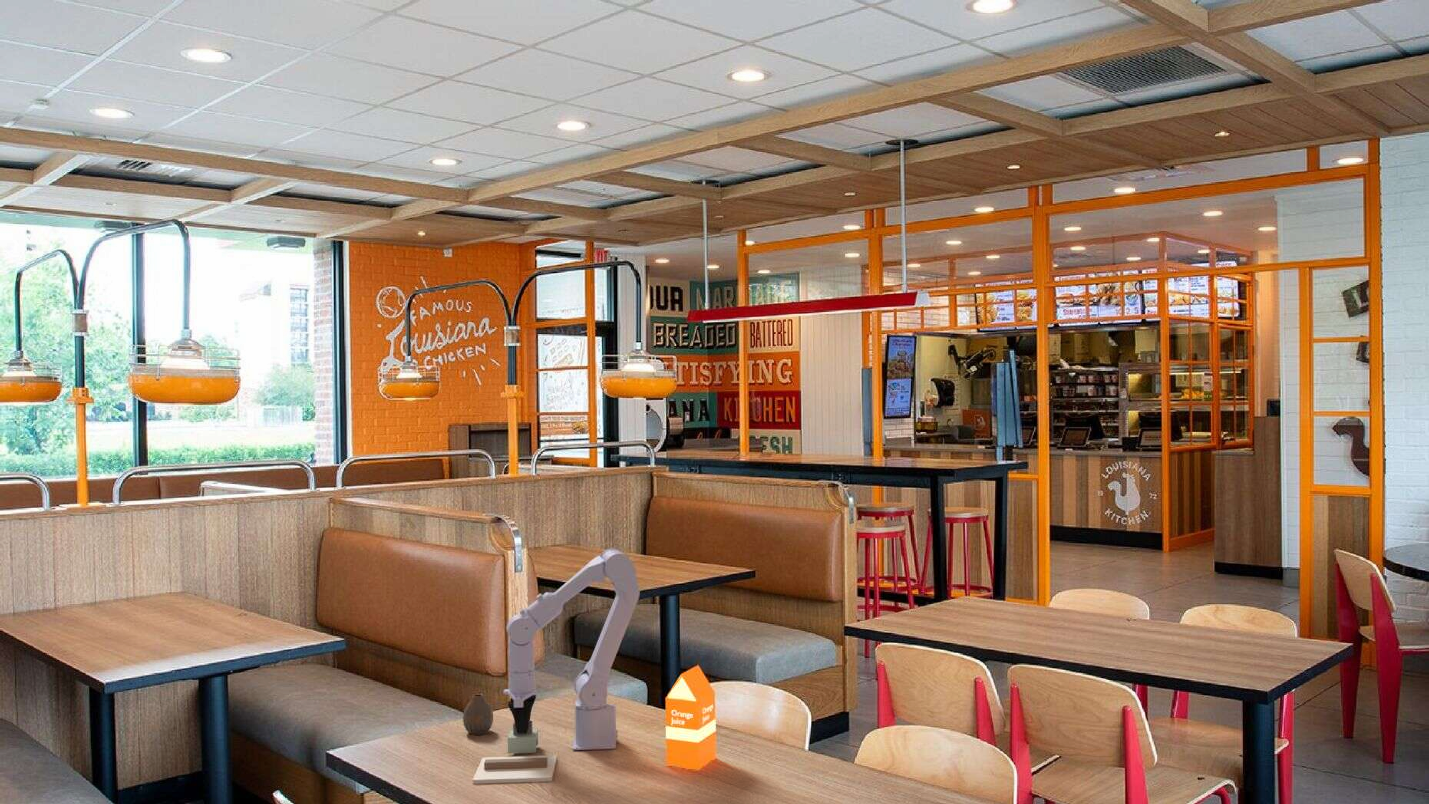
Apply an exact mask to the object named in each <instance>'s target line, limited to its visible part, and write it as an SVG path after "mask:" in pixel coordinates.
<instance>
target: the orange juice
mask: <svg viewBox="0 0 1429 804" xmlns="http://www.w3.org/2000/svg"><path fill="white" fill-rule="evenodd" d="M716 722H717V721H716V692H715V690H714V689H713V687H712V686H711V684H710V682H709V680H708V679H707V677H706V675H705V674H704V672H703V671H702V669H701V667H700V666H699V664H697V665H696V666H694V667H691V668H690V669H688V670H687V671H684V672H683V673H681V674H680V675H679V677H678V678H677V680H676V682H675V683H674V685H673V686H672V688H671V690H670V691H669V692H668V693H667V696H666V697H665V739H666V740H665V741H666V743H665V745H666V746H665V747H666V749H665V750H666V752H665V753H666V754H665V755H666V766H667V765H669V766H678V767H682V768H686V769H685V770H688V769H696V770H699V769H700V770H701V768H702V767H703V766H705V765H706V764H707V763H709V762H710V761H711V760H713V761H715V760H716V759H715V758H717V756H716V755H717V754H716V751H717V748H716V747H717V746H716V744H717V743H716V741H717V740H716V730H717V729H716V725H717V723H716ZM711 762H712V761H711ZM711 762H710V763H711ZM710 763H709V764H710ZM707 765H708V764H707ZM707 765H706V766H707ZM706 766H705V767H706ZM703 768H704V767H703ZM703 768H702V769H703ZM700 770H699V771H700Z"/></svg>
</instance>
